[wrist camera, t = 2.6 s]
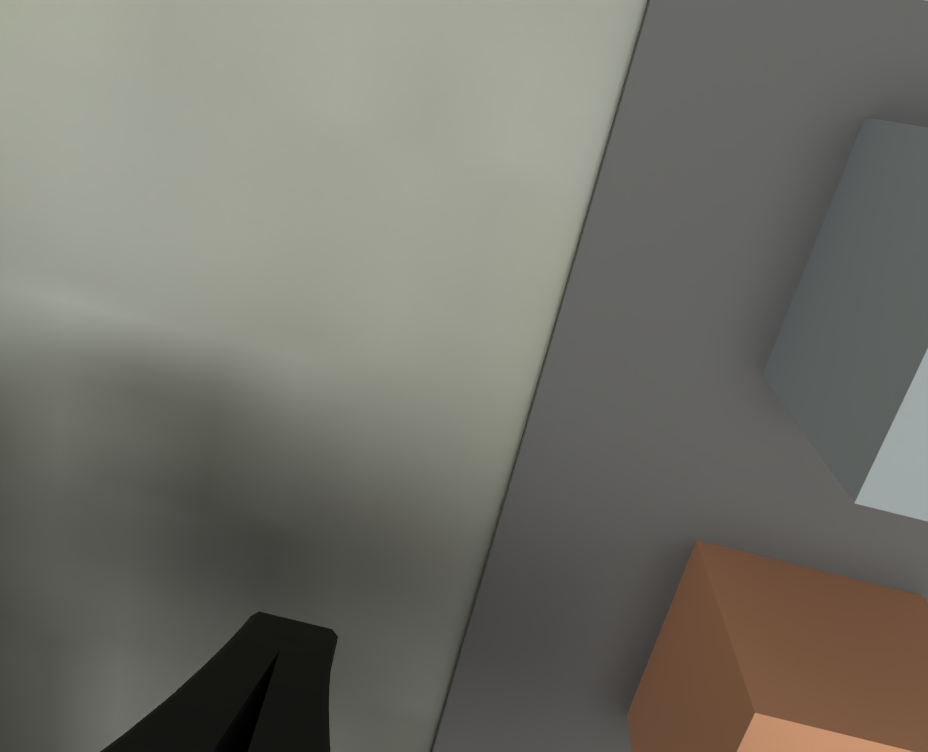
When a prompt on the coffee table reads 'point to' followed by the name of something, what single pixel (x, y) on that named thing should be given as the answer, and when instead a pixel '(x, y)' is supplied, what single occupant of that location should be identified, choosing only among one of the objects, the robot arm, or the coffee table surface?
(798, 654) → the terracotta block
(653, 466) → the mat
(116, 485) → the coffee table surface
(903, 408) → the slate block
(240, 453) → the coffee table surface
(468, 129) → the coffee table surface
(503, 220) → the coffee table surface
